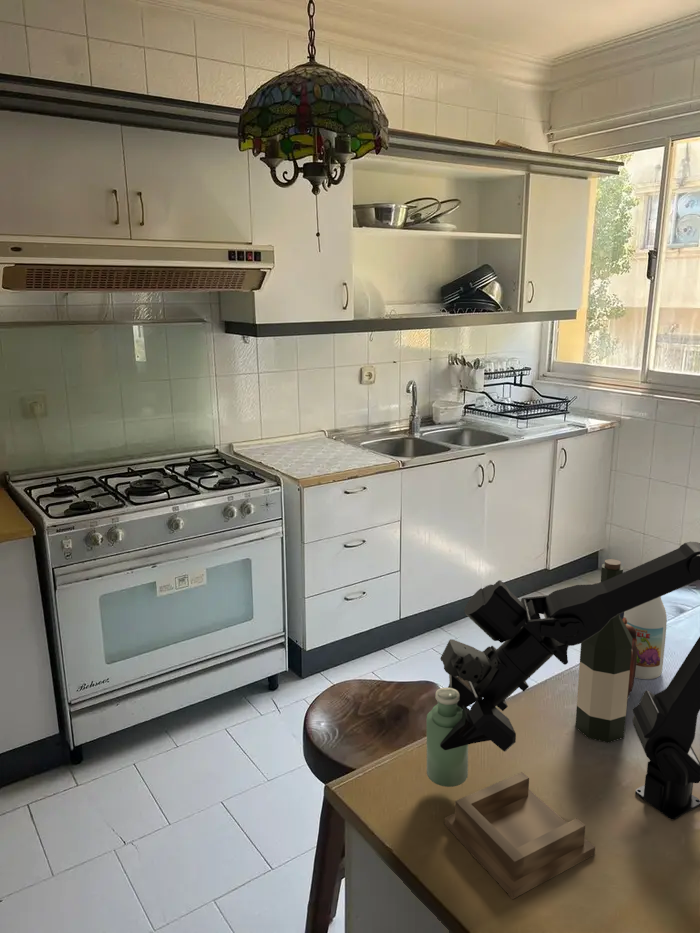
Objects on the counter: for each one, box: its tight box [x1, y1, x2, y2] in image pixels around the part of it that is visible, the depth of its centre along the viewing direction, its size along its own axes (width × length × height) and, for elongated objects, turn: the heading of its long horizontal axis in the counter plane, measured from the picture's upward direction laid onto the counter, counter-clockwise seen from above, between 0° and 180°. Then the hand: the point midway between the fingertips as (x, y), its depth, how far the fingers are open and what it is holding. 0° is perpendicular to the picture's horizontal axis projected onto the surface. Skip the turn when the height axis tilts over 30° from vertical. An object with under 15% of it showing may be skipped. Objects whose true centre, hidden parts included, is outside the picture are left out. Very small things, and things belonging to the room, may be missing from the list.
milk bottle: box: [623, 596, 668, 680], centre depth 131 cm, size 8×8×20 cm
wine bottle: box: [575, 558, 633, 743], centre depth 113 cm, size 8×8×30 cm
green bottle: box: [426, 687, 469, 788], centre depth 99 cm, size 6×6×13 cm
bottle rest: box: [444, 771, 596, 900], centre depth 92 cm, size 14×14×4 cm
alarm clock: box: [622, 616, 637, 699], centre depth 123 cm, size 11×5×15 cm, turn 152°
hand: (438, 733), depth 99 cm, fingers closed on green bottle, 6 cm apart
